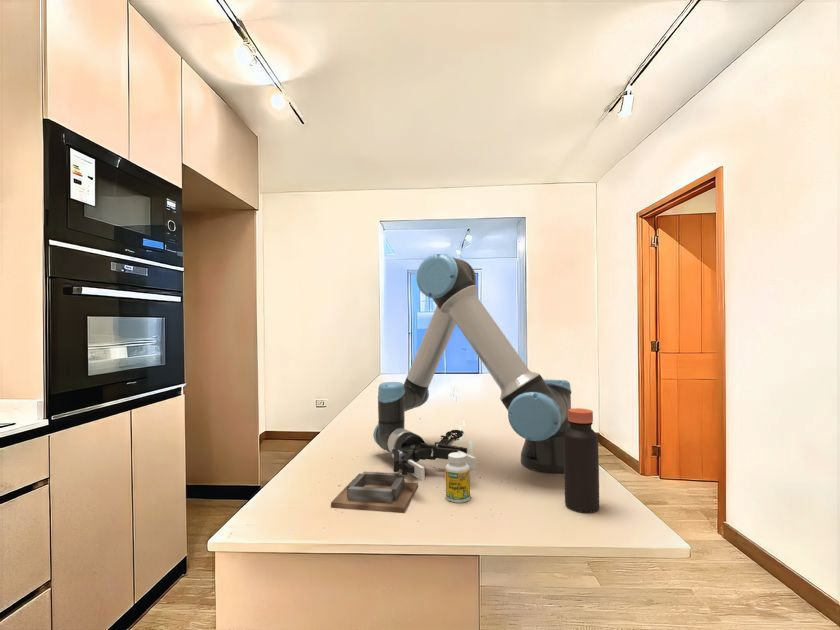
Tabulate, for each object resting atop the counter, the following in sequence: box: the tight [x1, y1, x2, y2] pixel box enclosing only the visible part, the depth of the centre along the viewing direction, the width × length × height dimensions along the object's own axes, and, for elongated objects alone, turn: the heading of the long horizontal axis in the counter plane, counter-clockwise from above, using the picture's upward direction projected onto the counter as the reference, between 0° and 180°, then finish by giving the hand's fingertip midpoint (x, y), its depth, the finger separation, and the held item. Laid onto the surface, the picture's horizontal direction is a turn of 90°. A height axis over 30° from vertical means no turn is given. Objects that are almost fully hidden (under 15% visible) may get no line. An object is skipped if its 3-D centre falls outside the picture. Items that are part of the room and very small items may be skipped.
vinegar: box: [563, 407, 600, 514], centre depth 92 cm, size 7×7×20 cm
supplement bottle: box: [444, 452, 471, 504], centre depth 96 cm, size 5×5×10 cm
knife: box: [438, 429, 464, 445], centre depth 142 cm, size 25×6×1 cm, turn 155°
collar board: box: [330, 471, 419, 514], centre depth 98 cm, size 16×14×4 cm
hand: (449, 468), depth 98 cm, fingers open, 13 cm apart
